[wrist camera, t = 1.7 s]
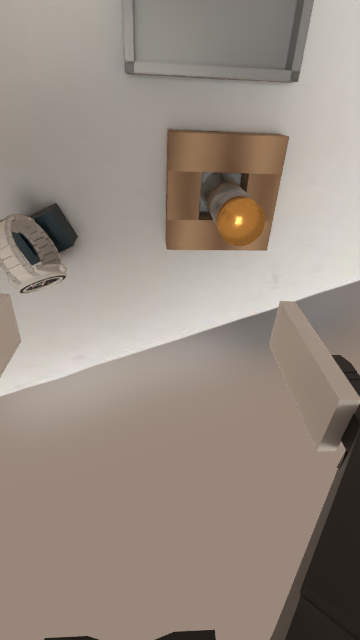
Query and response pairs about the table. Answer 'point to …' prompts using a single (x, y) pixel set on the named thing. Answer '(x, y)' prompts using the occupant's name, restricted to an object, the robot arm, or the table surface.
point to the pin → (232, 210)
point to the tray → (216, 38)
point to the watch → (35, 248)
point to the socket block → (223, 157)
